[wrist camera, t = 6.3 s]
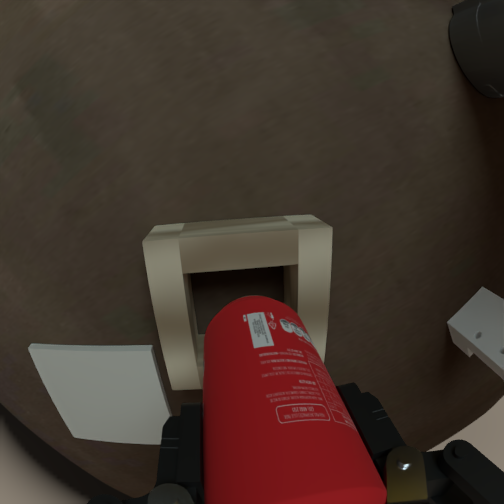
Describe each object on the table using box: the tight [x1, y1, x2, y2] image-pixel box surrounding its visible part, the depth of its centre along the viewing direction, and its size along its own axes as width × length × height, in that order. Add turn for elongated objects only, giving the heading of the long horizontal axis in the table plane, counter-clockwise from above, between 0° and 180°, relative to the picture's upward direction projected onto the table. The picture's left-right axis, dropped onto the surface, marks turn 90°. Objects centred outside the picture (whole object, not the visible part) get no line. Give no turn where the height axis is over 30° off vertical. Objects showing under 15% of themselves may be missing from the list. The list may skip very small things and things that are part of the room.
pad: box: [28, 344, 172, 444], centre depth 23 cm, size 12×12×1 cm
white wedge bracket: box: [447, 287, 504, 380], centre depth 23 cm, size 4×10×9 cm, turn 127°
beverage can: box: [203, 295, 387, 504], centre depth 11 cm, size 5×5×12 cm
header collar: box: [142, 215, 332, 390], centre depth 20 cm, size 10×10×4 cm
